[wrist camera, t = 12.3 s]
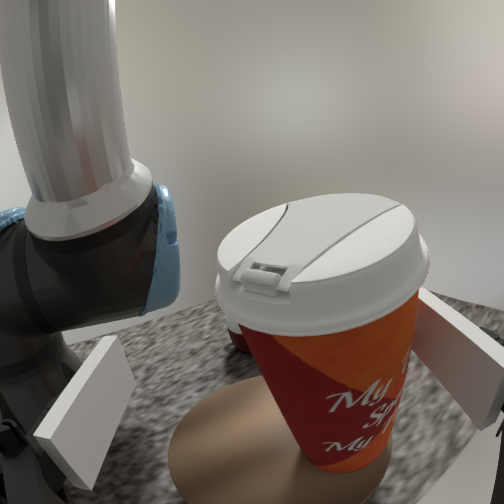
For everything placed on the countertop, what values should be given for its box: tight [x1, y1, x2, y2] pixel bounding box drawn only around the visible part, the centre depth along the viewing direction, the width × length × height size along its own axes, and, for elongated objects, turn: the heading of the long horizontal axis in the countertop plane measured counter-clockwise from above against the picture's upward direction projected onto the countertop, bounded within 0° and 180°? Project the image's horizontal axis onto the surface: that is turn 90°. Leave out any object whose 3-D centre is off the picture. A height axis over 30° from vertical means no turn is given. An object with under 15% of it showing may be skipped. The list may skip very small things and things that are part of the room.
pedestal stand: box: [168, 375, 392, 504], centre depth 18 cm, size 15×15×6 cm
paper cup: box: [215, 193, 430, 473], centre depth 13 cm, size 8×8×14 cm
